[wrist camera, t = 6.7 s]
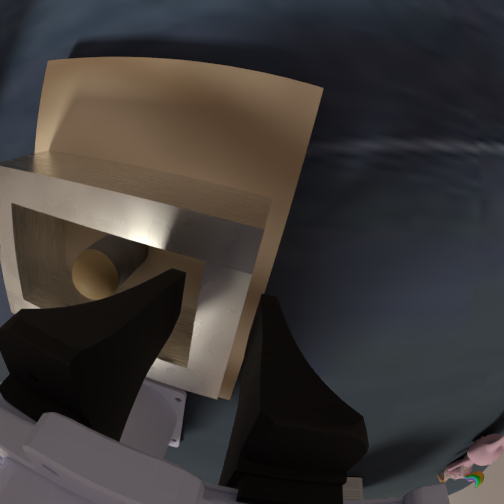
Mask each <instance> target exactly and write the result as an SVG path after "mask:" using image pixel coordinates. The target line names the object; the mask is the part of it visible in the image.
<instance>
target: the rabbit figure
mask: <svg viewBox="0 0 504 504" xmlns="http://www.w3.org/2000/svg"><path fill="white" fill-rule="evenodd" d="M503 451H504V436H503V437H502V436H500V435H499V434H490V435H487V436H486V437H484V436H482V437H481V438H480V439H478V440H476V441H475V443H474V444H473V445H471V446H470V448H469V449H468V451H467V455H466V456H465V457H464V458H463V459H460V460H457V461H456V462H453V463H451V464H449V465H448V466H447V467H446V468H445V471H444V479H442V476H443V474H442V475H441V474H440V473H439V474H440V476H439V475H437V476H438V478H439V480H440V482H441V483H442V481H443V482H446V481H447V480H448V479H449V478H452V479H460V478H465V479H466V480H468V481H475V484H476V485H475V487H478V486H480V484H482V482H483V480H484V474H483V473H482V472H480V471H477V472H474V473H472V474H470V473H471V471H472V465H473V464H474V463H475V464H477V465H481V466H484V465H489V464H491V463H493V462H494V461H495V460H497V459H498V458H499V457H500V455H501V454H502V453H503ZM469 474H470V475H469Z"/></svg>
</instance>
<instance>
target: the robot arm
mask: <svg viewBox="0 0 504 504" xmlns="http://www.w3.org/2000/svg"><path fill="white" fill-rule="evenodd" d="M185 278H186V272H184V271H180V270H177V269H173V268H171V269H169V270H167V271H165V272H163V273H161V274H159V275H157V276H155V277H154V278H152V279H149V280H147V281H145V282H143V283H141V284H139V285H137V286H135V287H132V288H130V289H128V290H125V291H123V292H121V293H118V294H115V295H112V296H110V297H106V298H103V299H100V300H96V301H92V302H87V303H83V304H78V305H73V306H66V307H57V308H42V309H20V310H19V311H18V312H17V313H16V314H15V315H14V316H13V317H11V318H10V319H9V320H8V321H7V322H6V323H5V324H4V325H3V326H2V327H1V328H0V351H1V354H2V356H3V359H4V361H5V364H6V366H7V368H8V371H9V373H10V374H9V376H8V377H7V378H6V379H5V380H4V381H3V383H2V384H0V466H1V468H0V504H449V498H448V494H447V489H446V484H444V483H442V484H435V485H429V486H422V487H419V488H416V489H414V490H412V491H410V492H409V493H407V494H406V495H405V496H404V497H396V498H384V499H365V500H343V485H344V484H345V483H346V482H347V471H348V470H349V469H350V468H351V467H353V466H354V465H355V464H356V463H357V462H358V461H359V460H361V459H362V458H363V456H364V455H365V454H366V453H367V451H368V447H369V444H368V437H367V430H366V426H365V423H364V419H363V416H362V415H360V414H359V413H358V412H356V411H355V410H354V409H353V408H351V407H350V406H349V405H347V404H346V403H345V402H344V401H342V400H341V399H340V398H339V397H338V396H337V395H336V394H335V393H334V392H333V391H332V390H331V389H330V388H329V387H328V386H327V385H326V384H325V383H324V382H323V381H322V380H321V378H320V377H319V376H318V375H317V374H316V373H315V371H314V370H313V369H312V368H311V366H310V365H309V364H308V362H307V361H306V359H305V358H304V356H303V355H302V353H301V351H300V350H299V348H298V346H297V344H296V342H295V341H294V339H293V337H292V334H291V332H290V330H289V328H288V326H287V323H286V321H285V318H284V316H283V313H282V310H281V307H280V304H279V301H278V299H277V297H273V296H269V295H265V294H261V297H260V300H259V304H258V307H257V310H256V313H255V316H254V320H253V323H252V326H251V329H250V332H249V336H248V341H247V345H246V349H245V353H244V361H243V370H242V379H241V388H240V396H239V403H238V409H237V413H236V417H235V421H234V426H233V430H232V434H231V438H230V442H229V446H228V450H227V454H226V458H225V462H224V466H223V470H222V473H221V477H220V481H219V485H216V484H212V483H208V482H204V481H201V480H200V479H199V477H198V476H196V475H194V474H193V473H191V472H190V471H188V470H187V469H185V468H184V467H181V466H179V465H176V464H174V463H172V462H169V461H167V460H165V459H163V458H164V456H165V453H166V450H167V447H168V445H170V446H173V447H179V444H180V438H181V431H182V424H183V416H184V410H185V403H186V396H187V394H186V392H185V391H184V390H182V389H180V388H177V387H174V386H171V385H168V384H165V383H162V382H159V381H156V380H153V379H151V378H148V377H146V375H147V373H148V371H149V370H150V368H151V366H152V365H153V363H154V361H155V360H156V358H157V357H158V355H159V353H160V352H161V350H162V348H163V347H164V345H165V343H166V342H167V340H168V338H169V337H170V335H171V333H172V332H173V329H174V327H175V325H176V323H177V320H178V318H179V316H180V313H181V307H182V299H183V292H184V285H185Z"/></svg>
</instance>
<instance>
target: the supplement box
mask: <svg viewBox="0 0 504 504" xmlns="http://www.w3.org/2000/svg"><path fill="white" fill-rule="evenodd" d="M343 500H363V485H362V478H358V477H347V482H346V483H345V484H344V485H343Z"/></svg>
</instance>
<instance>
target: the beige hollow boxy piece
mask: <svg viewBox="0 0 504 504" xmlns="http://www.w3.org/2000/svg"><path fill="white" fill-rule="evenodd" d="M271 202H272V198H270V197H267V196H263V195H259V194H255V193H252V192H248V191H244V190H240V189H236V188H232V187H228V186H224V185H220V184H216V183H212V182H208V181H204V180H199V179H195V178H191V177H186V176H182V175H178V174H173V173H169V172H164V171H159V170H155V169H150V168H145V167H140V166H135V165H130V164H125V163H120V162H115V161H110V160H104V159H99V158H93V157H87V156H82V155H76V154H70V153H64V152H57V151H51V150H47V151H43V152H38V153H34V154H30V155H26V156H22V157H18V158H15V159H11V160H7V161H4V162H0V260H1V266H2V271H3V277H4V282H5V287H6V291H7V296H8V300H9V304H10V308H11V312H13V313H14V314H16V313H17V312H18V311H19V310H20V309H42V308H57V307H66V306H73V305H78V304H83V303H87V302H92V301H96V300H93V299H89V298H87V297H85V296H84V295H82V294H81V293H80V292H79V291H78V290H77V288H76V286H75V284H74V282H73V278H72V268H73V267H71V266H68V265H66V250H65V220H67V221H70V222H74V223H77V224H80V225H83V226H86V227H90V228H93V229H96V230H99V231H103V232H106V233H109V234H113V235H116V236H119V237H123V238H126V239H129V240H133V241H136V242H139V243H143V244H146V245H150V246H153V247H156V248H160V249H163V250H167V251H170V252H174V253H177V254H181V255H184V256H188V257H191V258H195V259H198V260H202V261H205V266H204V271H203V276H202V282H201V287H200V293H199V299H198V304H197V310H195V309H192V308H189V307H185V306H182V307H181V313H180V316H179V318H178V320H177V323H176V325H175V327H174V329H173V332H172V333H171V335H170V337H169V338H168V340H167V342H166V343H165V345H164V347H163V348H162V350H161V352H160V353H159V355H158V357H157V358H156V360H155V361H154V363H153V365H152V366H151V368H150V370H149V371H148V373H147V375H146V377H148V378H151V379H154V380H156V381H159V382H162V383H165V384H168V385H171V386H174V387H177V388H180V389H183V390H186V391H189V392H193V393H196V394H199V395H203V396H206V397H210V398H213V399H217V398H218V395H219V391H220V387H221V384H222V380H223V377H224V373H225V370H226V366H227V363H228V359H229V356H230V352H231V348H232V345H233V341H234V338H235V334H236V331H237V327H238V323H239V320H240V316H241V313H242V309H243V306H244V302H245V298H246V295H247V291H248V287H249V284H250V280H251V277H252V273H253V269H254V266H255V262H256V259H257V255H258V251H259V248H260V244H261V240H262V237H263V233H264V229H265V226H266V222H267V218H268V214H269V210H270V206H271ZM128 289H130V288H127V287H125V286H122V285H121V286H120V287H119V288H118V289H117V290H116V291H115V292H114V293H113V294H112V295H115V294H118V293H121V292H123V291H125V290H128ZM112 295H111V296H112ZM109 297H110V296H109Z"/></svg>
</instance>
